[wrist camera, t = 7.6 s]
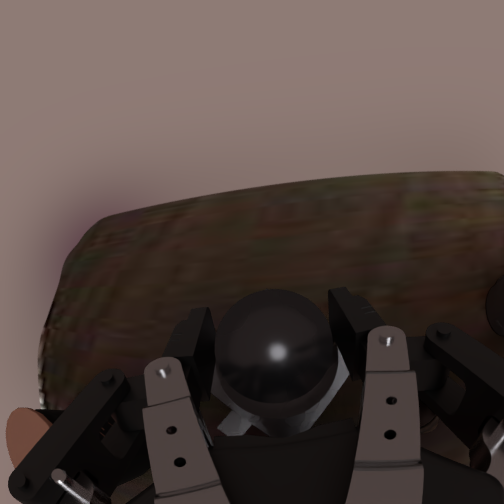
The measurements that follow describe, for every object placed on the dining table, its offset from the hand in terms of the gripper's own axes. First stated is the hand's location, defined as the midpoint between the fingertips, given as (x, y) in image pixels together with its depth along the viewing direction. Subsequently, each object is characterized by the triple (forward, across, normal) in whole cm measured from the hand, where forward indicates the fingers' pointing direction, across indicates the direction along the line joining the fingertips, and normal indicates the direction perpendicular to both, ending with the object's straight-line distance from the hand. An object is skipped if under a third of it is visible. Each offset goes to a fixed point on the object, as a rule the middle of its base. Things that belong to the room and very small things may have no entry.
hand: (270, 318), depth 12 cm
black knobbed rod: (+9, 0, +12) cm, 15 cm away
